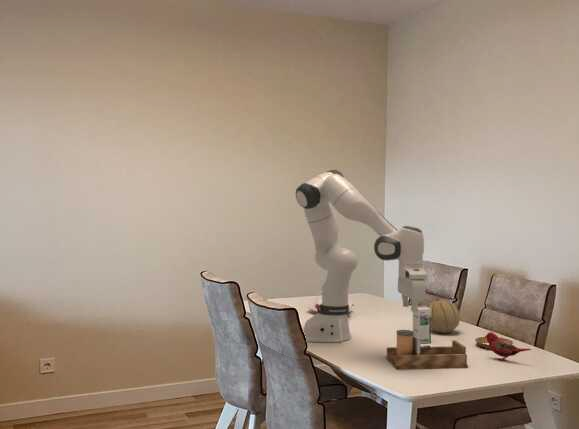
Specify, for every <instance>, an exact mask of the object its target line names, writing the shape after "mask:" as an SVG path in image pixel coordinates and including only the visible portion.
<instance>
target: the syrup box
mask: <svg viewBox="0 0 579 429" xmlns="http://www.w3.org/2000/svg"><path fill="white" fill-rule="evenodd" d="M412 331H413V332H414V334H415V335H416V336H417V337H419V338H420V344H431V343H432V328H431V308H429V306H425V305H424V306H418V307H417V312H413V311H412Z"/></svg>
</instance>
